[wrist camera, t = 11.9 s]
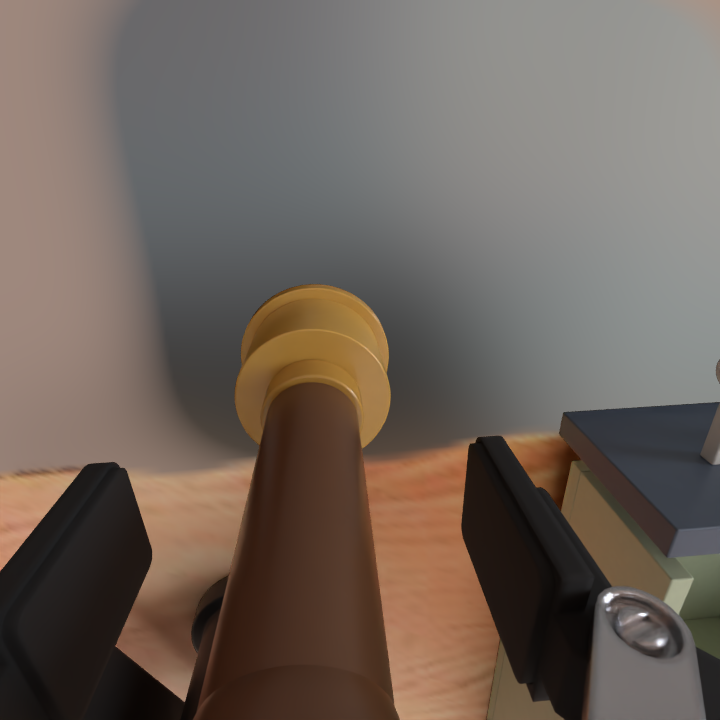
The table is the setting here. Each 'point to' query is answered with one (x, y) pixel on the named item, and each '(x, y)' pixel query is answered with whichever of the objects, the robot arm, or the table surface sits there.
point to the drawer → (652, 504)
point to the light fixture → (141, 690)
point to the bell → (306, 520)
